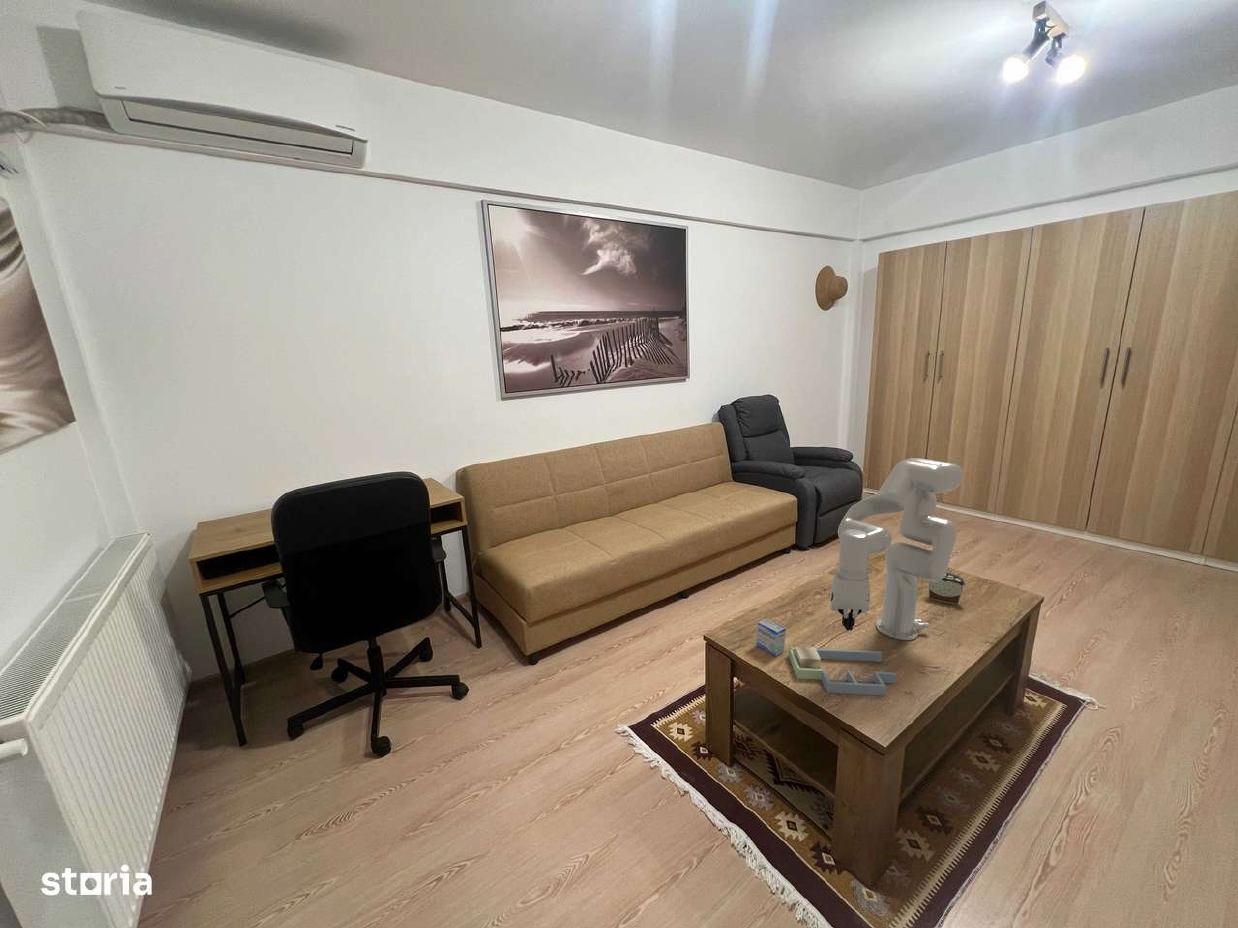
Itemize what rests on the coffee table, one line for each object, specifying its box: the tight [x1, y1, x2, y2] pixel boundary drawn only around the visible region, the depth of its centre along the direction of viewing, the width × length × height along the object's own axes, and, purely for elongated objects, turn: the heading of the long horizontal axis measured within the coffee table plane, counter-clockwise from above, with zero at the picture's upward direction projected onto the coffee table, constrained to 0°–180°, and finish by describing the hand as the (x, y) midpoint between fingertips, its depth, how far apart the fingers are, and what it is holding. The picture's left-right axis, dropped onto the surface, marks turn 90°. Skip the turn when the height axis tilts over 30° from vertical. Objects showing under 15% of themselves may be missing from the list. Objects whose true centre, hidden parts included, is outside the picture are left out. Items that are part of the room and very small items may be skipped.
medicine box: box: [755, 618, 787, 657], centre depth 160 cm, size 8×4×9 cm, turn 37°
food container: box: [928, 571, 967, 606], centre depth 188 cm, size 12×6×10 cm, turn 58°
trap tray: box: [788, 647, 898, 696], centre depth 147 cm, size 28×17×3 cm, turn 84°
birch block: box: [794, 646, 822, 669], centre depth 151 cm, size 6×6×5 cm
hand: (847, 627), depth 147 cm, fingers closed
